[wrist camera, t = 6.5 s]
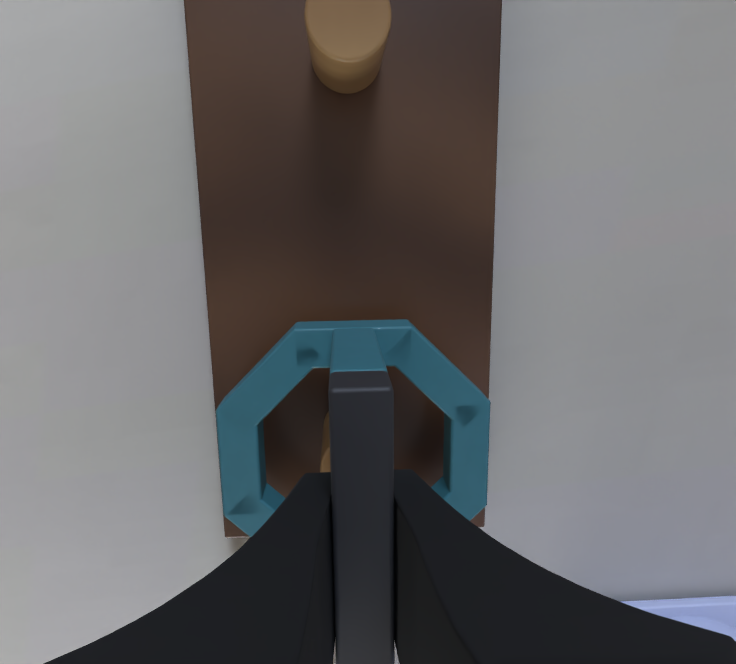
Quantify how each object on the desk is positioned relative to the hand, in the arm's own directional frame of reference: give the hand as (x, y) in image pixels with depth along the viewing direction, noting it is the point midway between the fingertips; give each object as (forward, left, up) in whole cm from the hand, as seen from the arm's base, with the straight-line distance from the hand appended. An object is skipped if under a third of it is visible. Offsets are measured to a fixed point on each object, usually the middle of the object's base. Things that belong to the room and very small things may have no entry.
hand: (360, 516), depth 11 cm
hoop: (0, 0, -4) cm, 4 cm away
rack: (+5, 0, -6) cm, 8 cm away
